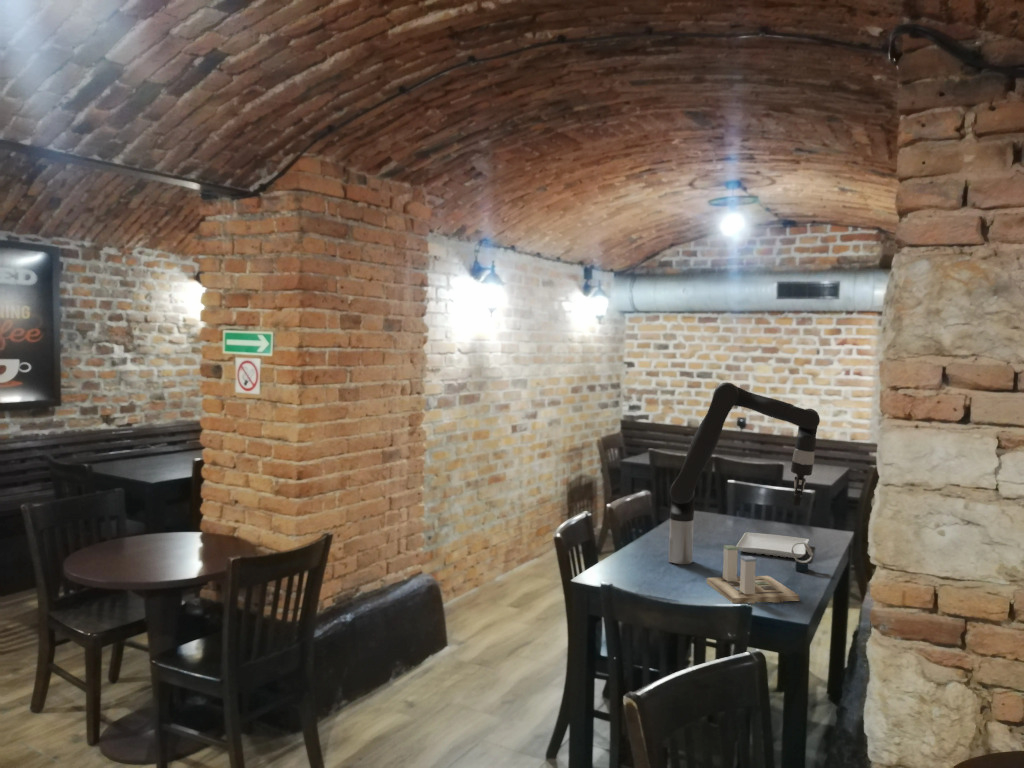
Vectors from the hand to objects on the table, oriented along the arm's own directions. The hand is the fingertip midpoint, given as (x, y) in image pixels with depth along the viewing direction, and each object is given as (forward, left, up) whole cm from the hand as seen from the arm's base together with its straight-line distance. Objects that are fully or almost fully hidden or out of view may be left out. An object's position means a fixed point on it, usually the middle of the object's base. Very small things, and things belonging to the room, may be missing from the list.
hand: (796, 502), depth 291 cm
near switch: (-21, -37, -25) cm, 49 cm away
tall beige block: (-26, -24, -25) cm, 43 cm away
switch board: (-19, -28, -27) cm, 43 cm away
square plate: (-4, +32, -28) cm, 42 cm away
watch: (+3, +4, -27) cm, 28 cm away
